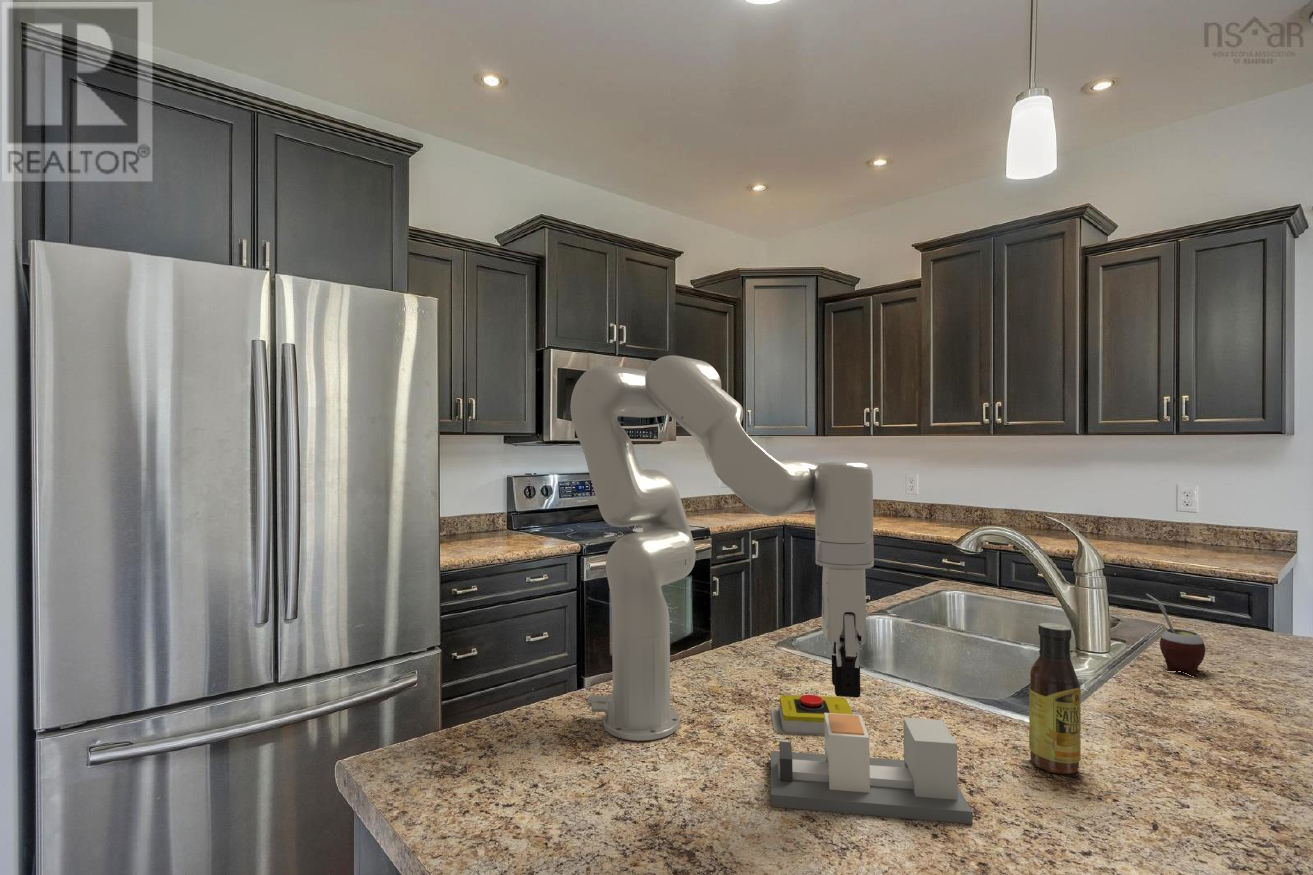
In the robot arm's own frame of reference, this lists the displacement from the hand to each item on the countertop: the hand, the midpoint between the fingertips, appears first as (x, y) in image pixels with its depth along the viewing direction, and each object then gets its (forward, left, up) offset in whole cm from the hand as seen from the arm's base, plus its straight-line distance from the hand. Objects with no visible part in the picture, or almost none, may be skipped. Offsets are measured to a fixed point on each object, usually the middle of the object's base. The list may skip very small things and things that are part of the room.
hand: (845, 689), depth 86 cm
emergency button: (-2, +20, -14) cm, 25 cm away
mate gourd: (+71, +56, -13) cm, 91 cm away
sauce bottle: (+30, +11, -13) cm, 35 cm away
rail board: (+2, 0, -13) cm, 13 cm away
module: (0, 0, -12) cm, 12 cm away
